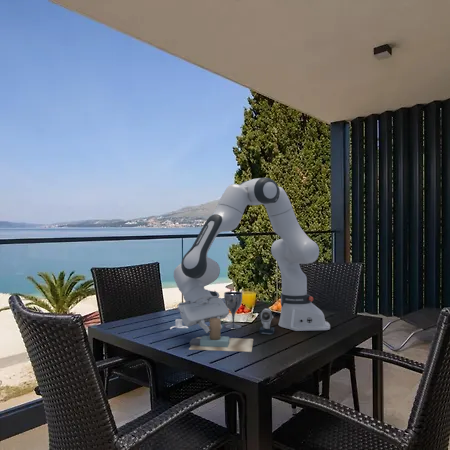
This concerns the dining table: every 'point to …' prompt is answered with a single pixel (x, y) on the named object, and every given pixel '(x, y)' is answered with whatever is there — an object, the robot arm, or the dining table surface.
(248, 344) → the pine board
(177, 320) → the grey hub with arms
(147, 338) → the dining table surface
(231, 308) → the wine glass
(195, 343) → the graphite chip
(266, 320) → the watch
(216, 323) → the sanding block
